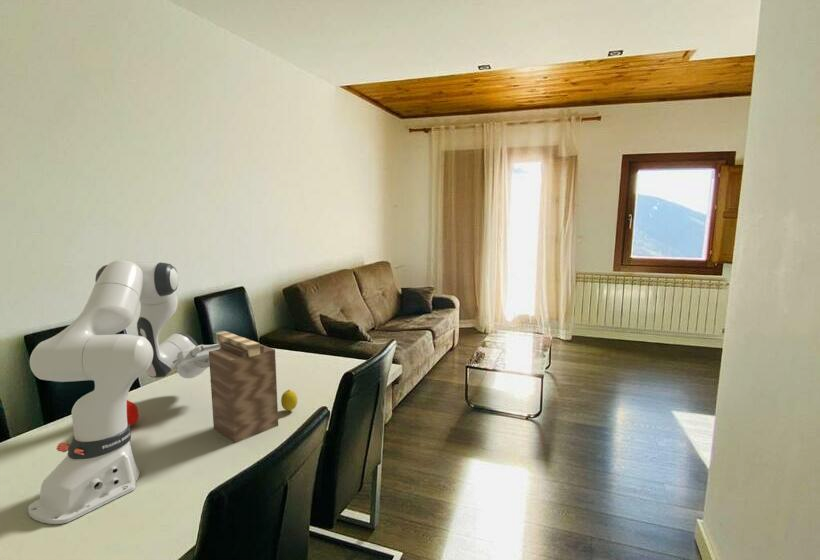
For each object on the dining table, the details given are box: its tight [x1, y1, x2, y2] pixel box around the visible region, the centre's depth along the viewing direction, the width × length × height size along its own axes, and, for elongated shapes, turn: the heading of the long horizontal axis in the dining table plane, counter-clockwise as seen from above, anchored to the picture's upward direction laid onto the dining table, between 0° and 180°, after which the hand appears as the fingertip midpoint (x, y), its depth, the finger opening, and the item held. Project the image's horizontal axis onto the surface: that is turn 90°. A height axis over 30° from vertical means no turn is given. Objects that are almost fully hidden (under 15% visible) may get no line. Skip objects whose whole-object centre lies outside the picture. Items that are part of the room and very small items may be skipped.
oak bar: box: [212, 330, 260, 357], centre depth 139 cm, size 24×4×4 cm, turn 49°
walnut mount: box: [209, 342, 279, 444], centre depth 138 cm, size 15×14×28 cm
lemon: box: [280, 389, 298, 412], centre depth 151 cm, size 6×6×8 cm
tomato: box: [127, 399, 140, 427], centre depth 137 cm, size 14×13×9 cm
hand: (215, 345), depth 149 cm, fingers open, 8 cm apart
